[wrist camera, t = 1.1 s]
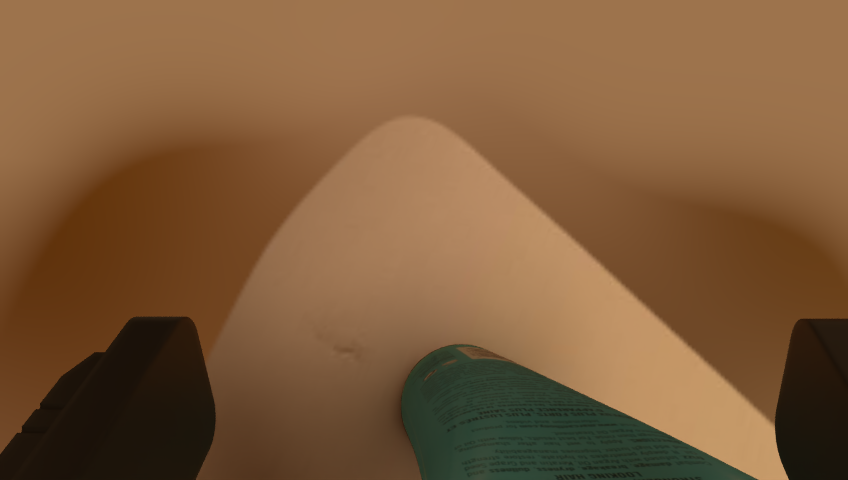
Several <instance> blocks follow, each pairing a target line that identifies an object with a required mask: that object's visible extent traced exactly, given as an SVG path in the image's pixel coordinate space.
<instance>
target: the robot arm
mask: <svg viewBox="0 0 848 480" xmlns="http://www.w3.org/2000/svg"><path fill="white" fill-rule="evenodd" d="M215 421H216V413H215V403H214V398H213V394H212V390H211V386H210V382H209V378H208V374H207V370H206V366H205V361H204V357H203V354H202V349H201V345H200V341H199V337H198V333H197V329H196V326H195V324H194V322H193V321H192V320H191V319H190V318H189V317H133V318H132V319H130V320H129V321H128V322H127V323H126V325H125V326H124V328H123V329H122V330H121V331H120V333H119V334H118V336H117V337H116V338H115V340H114V341H113V342H112V344H111V345H110V346H109V348H108V349H107V350H106V352H96V353H93V354H92V355H91V356H89V357H88V358H86V359H85V360H84V361H82V362H81V363H80V364H78V365H77V366H75V367H74V368H72V369H71V370H70V371H68V372H67V373H66V374H64V375H63V376H62V377H61V378H60V379H59V380H58V382H57V383H56V384H55V386H54V387H53V388H52V389H51V391H50V392H49V393H48V394H47V396H46V397H45V398H44V399H43V401H42V402H41V403H40V409H36V410H35V411H34V412H33V413H32V415H31V416H30V417H29V419H28V420H27V421H26V422H25V424H24V425H23V426H22V432H21V433H17V434H16V435H15V436H14V438H13V439H12V440H11V441H10V443H9V444H8V445H7V447H6V448H5V449H4V450H3V452H2V453H1V454H0V480H196V478H197V475H198V473H199V471H200V469H201V467H202V465H203V462H204V460H205V458H206V456H207V454H208V452H209V449H210V447H211V444H212V441H213V436H214V431H215ZM775 434H776V442H777V448H778V453H779V456H780V459H781V462H782V464H783V467H784V469H785V471H786V474H787V476H788V478H789V480H848V319H800V320H798V321H797V322H796V324H795V325H794V328H793V330H792V334H791V339H790V344H789V349H788V354H787V359H786V364H785V369H784V374H783V379H782V384H781V389H780V394H779V399H778V404H777V409H776V416H775Z"/></svg>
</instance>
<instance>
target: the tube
mask: <svg viewBox="0 0 848 480" xmlns="http://www.w3.org/2000/svg"><path fill="white" fill-rule="evenodd" d="M401 414H402V419H403V423H404V427H405V429H406V432H407V434H408V436H409V439H410V441H411V444H412V446H413V449H414V452H415V455H416V458H417V461H418V465H419V469H420V473H421V477H422V480H757V479H755V478H753V477H751V476H750V475H748V474H746V473H744V472H742V471H740V470H738V469H736V468H734V467H732V466H730V465H728V464H726V463H724V462H722V461H720V460H718V459H716V458H714V457H712V456H710V455H708V454H706V453H705V452H703V451H700V450H698V449H696V448H694V447H692V446H690V445H688V444H686V443H684V442H682V441H680V440H678V439H676V438H674V437H672V436H670V435H668V434H666V433H664V432H662V431H659V430H657V429H655V428H653V427H651V426H649V425H647V424H645V423H643V422H641V421H639V420H637V419H635V418H632V417H630V416H628V415H626V414H624V413H622V412H620V411H618V410H615V409H613V408H611V407H609V406H607V405H605V404H603V403H600V402H598V401H596V400H594V399H592V398H590V397H588V396H586V395H583V394H581V393H579V392H577V391H575V390H573V389H571V388H569V387H566V386H564V385H562V384H560V383H558V382H556V381H553V380H551V379H549V378H547V377H545V376H543V375H540V374H538V373H536V372H534V371H532V370H530V369H528V368H525V367H523V366H521V365H519V364H517V363H515V362H513V361H510V360H508V359H506V358H504V357H502V356H499V355H497V354H495V353H493V352H490V351H488V350H485V349H483V348H480V347H477V346H472V345H451V346H446V347H443V348H440V349H438V350H435V351H434V352H432V353H430V354H429V355H427V356H426V357H424V358H423V359H422V360H421V361H420V362H419V363H418V364H417V365H416V366H415V367H414V369H413V370H412V371H411V373H410V375H409V376H408V378H407V380H406V383H405V386H404V389H403V393H402V398H401Z"/></svg>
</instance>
